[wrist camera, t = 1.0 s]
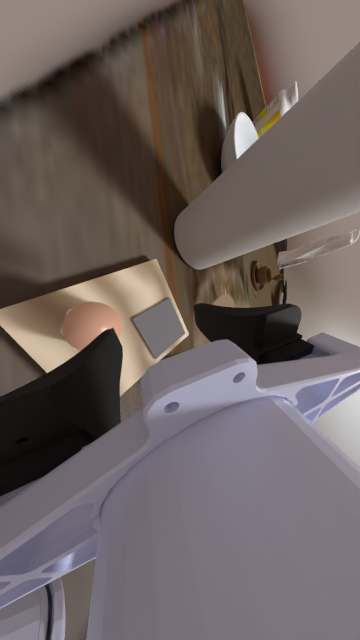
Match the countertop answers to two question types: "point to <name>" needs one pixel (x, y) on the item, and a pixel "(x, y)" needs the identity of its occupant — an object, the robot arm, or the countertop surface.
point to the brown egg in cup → (89, 323)
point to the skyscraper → (316, 248)
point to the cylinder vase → (283, 176)
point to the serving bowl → (237, 140)
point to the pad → (159, 327)
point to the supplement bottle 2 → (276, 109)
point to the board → (113, 290)
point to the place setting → (262, 277)
